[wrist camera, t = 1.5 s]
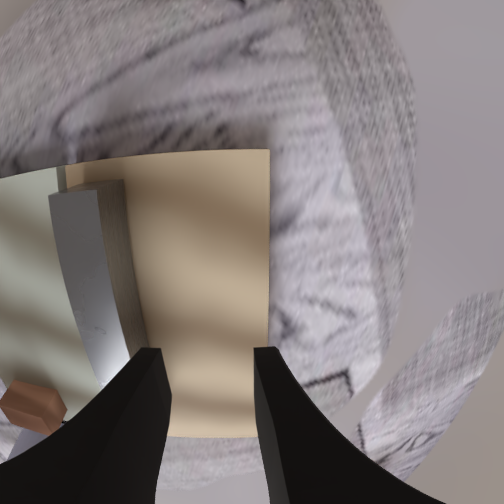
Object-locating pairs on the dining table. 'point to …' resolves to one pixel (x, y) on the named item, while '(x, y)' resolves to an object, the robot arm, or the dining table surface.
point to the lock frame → (145, 287)
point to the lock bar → (99, 273)
